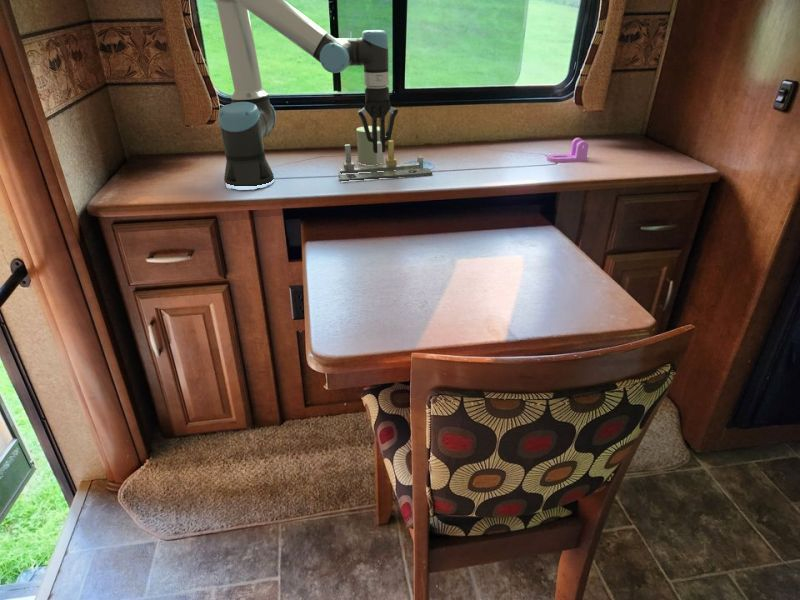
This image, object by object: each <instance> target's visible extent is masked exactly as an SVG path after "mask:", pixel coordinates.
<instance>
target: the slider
mask: <svg viewBox="0 0 800 600" xmlns="http://www.w3.org/2000/svg"><path fill="white" fill-rule="evenodd" d="M387 152H388V153H387V155H388V158H385V164H386V165H387V166H388V167H392V166H397V165H398V163H397V162H398V160H397V159H396V157H395V141H394V140H393V139H392V140H391V139H390V140H388V141H387Z"/></svg>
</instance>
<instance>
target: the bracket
mask: <svg viewBox="0 0 800 600" xmlns="http://www.w3.org/2000/svg"><path fill="white" fill-rule="evenodd" d="M588 150H589V143H588V142H587V141H585V140H583V139H582V138H581V137H575V138H574V139H573V140H572V141H571V146H570V150H569V151H570V153H559V154H549V155H547V156H546V161H547V162H550V163H577V162H578V163H579V162H587V158H588V153H589V151H588Z"/></svg>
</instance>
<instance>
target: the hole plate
mask: <svg viewBox="0 0 800 600" xmlns="http://www.w3.org/2000/svg"><path fill="white" fill-rule="evenodd" d="M415 176H416V177H427V176H433V171H432V170H431V169H430V168H429V167H423V168H421V169H409V170H396V171H384V172H371V173H359V174H346V175H340V174H338V179H339V178H340V180H341V181H349V180H364V179H379V178H393V179H400V178H399V177H405V178H415ZM340 180H339V181H340Z"/></svg>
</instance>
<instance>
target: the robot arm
mask: <svg viewBox="0 0 800 600" xmlns="http://www.w3.org/2000/svg"><path fill="white" fill-rule="evenodd" d="M213 1H214V3H215V4H216V6H217V11H218V17H219V22H220V25H221V31H222V37H223V41H224V45H225V50H226V54H227V55H226V56H227V60H228V65H229V70H230V75H231V80H232V84H233V89H234V91H233V93H232V95H231V96H230V99H231V103H229V104H225V105H222V106H221V107H220V109H219V110H218V112H217V113H218V115H217V116H218V124H219V127H220V128H219V129H220V132H221V133H220V134H221V138H222V143H223V144H222V145H223V147H224V148H223V149H224V154H225V158H226V159H225V160H226V161H225V162H226V163H225V169H224V175H223V176H224V177H223V179H224V180H223V182H224V181H225V182H226V183H227V184H230V185H234V186H257V185H262V184H266V183H269V182H271V181H272V180H273V179H274V180H275V178H274V173H273V171H272V168H271V166H270V165H269V163H268V162H269V161H268V160H267V158H266V153H265V147H264V139H265V137H268V136H269V135H270V134H271V133H272V132H273V130H274V129H275V127H276V124H277V113H276V110H275V108H274V106H273V105H272V104H271V103H270V97H269V93H268V92H267V91H266V90H264V88H263V84H262V83H263V82H262V79H261V73H260V67H259V62H258V57H257V51H256V44H255V39H254V34H253V29H252V27H253V26H252V24H251V16H250V13H252V14H253V15H254V16H256V17H257V18H259V20H262V22H264V23H266V24H267V25H268V26H270V27H271V28H272V29H274V30H275V31H276V32H278V33H279V34H281V35H282V36H283V37H285V38H286V39H287V40H288V41H290V42H292V43H293V44H295V45H296V46H297V47H299V48H300V49H301V50H303V51H304V52H306V53H307V54H308V55H309V56H311V57H312V58H313V59H315V60H316V61H318V62H319V63H320V64H321V66H322V68H323V69H324V70H325V71H327V72H329V73H330V74H331V73H332V74H337V73H341V72H343V71H345V70H346V69H347V67H354V66H355V67H362V66H363V76H364V77H363V78H364V79H363V80H364V81H363V82H364V85H365V88H364V97H365V98H364V100H365V102H364V105H363V107H362V109H359V110H357V114H358V115H359V117H360V119H361V123H362V127H364V130H365V134H366V137H367V140H368V141H369V142H373V151H374V153H376V157H377V163H378V164H380V163H383V162H382V152H383V153H386V142H388V140H391V138H392V133H393V128H394V124H395V119H396V117H397V114H398V112H399V110H398V109H397V108H395V107H394V106H392V104H391V101H390V87H389V85H390V77H389V75H390V74H389V42H388V33H387V32H386V31H385V30H383V29H370V30H367V29H366V30H363V31H362V33H361V37H357V38H356V37H355V38H344V37H343V38H340V37H339V38H338V37H337V38H336V37H334V36H333V35H332V34H329V33H328V31H326V30H324V29H323V28H322V27H320V26H319V25H318V24H316V23H315V22H314V21H312V20H311V19H310V18H308V17H307V16H306V15H305V14H303V13H302V12H301V11H299V10H298V9H297V8H295V7H293V5H291V3H288V2H287V1H286V0H213ZM388 113H389V116H388V117H389V118H388V123H387V128H386V123H385V122H386V116H387V114H388ZM367 114H368V115H369V117H370V119H371V126H372V137H371V135H370V131H369V128H368V126H369V125H368V120H367V118H366V116H367ZM378 119H379V127H380V141H381V142H380V141H379V142H377V126H378ZM383 164H384V163H383ZM380 165H381V164H380ZM225 182H224V183H225Z"/></svg>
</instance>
